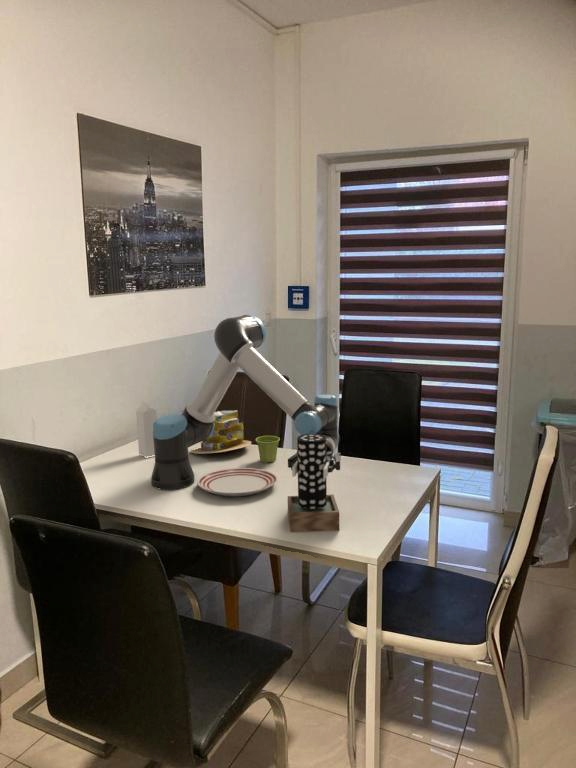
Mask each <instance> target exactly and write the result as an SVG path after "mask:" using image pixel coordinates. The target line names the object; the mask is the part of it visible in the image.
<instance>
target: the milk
mask: <svg viewBox="0 0 576 768" xmlns="http://www.w3.org/2000/svg"><path fill="white" fill-rule="evenodd" d="M141 404H142V405H141V406H140V407H138V408H137V409H136V410H135V412H136V427H137V428H136V429H137V442H138V444H137V445H138V455H139V454H141V455H143V456H146V457H147V456H152V455H155V454H154V439H153V424H154V422H155V420H156V419H158V414H157V413H158V411H157V409H154V408H153V407H151V406H150V405H151V404H150V403H149V402H146V401H142V402H141Z"/></svg>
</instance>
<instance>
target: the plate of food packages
mask: <svg viewBox="0 0 576 768" xmlns="http://www.w3.org/2000/svg"><path fill="white" fill-rule="evenodd" d="M238 413H239V411H238V410H237V409H235V410H225V409H224V410H220V411H219V410H217V411H215V412H214V414H215V421H214V424H215V425H214V430H213V432H212V434H211V435H210V436H209V437H208V438H207V439H206V440H204V441H202V442H200V446H201V448H198V449H195V450H192V449H191V450H190V453H192V454H196V455H197V454H200V455H201V454H203V455H204V454H214V453H215V454H216V453H217V454H218V453H223V455H224V454H225V453H226V452H229V451H234V450H238V449H243V448H245V447H247V446H250V445H252V441H251V440H245V436H244V421H242V422H240V419H239V414H238ZM225 455H226V454H225Z"/></svg>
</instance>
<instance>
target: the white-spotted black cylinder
mask: <svg viewBox="0 0 576 768" xmlns="http://www.w3.org/2000/svg"><path fill="white" fill-rule="evenodd" d="M296 440H297V441H296V446H297V447H296V453H297V459H298V472H297V496H298V504H299V506H301V507H303V508H307V509H317V508H322V507H324V506H326V504H327V495H328V494H327V493H328V492H327V478H324V471H323V469H324V467H325V465H326V437H325V436H323V435H319V434H305V435H301V434H299V435H298V436H297V437H296Z"/></svg>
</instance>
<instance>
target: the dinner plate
mask: <svg viewBox="0 0 576 768" xmlns="http://www.w3.org/2000/svg"><path fill="white" fill-rule="evenodd" d="M278 481H279V479H278V476H277V475H276V474H275V473H273V472H271V471H268V470H266V469H261V468H253V467H233V468H226V469H225V468H224V469H219V470H215V471H210V472H207V473H205V474H203V475H202V476H200V477H198V479H197V481H196V482H197V485H198V487H199V488H200V489H202V490H204V491H206V492H209V493H211V494H212V493H213V494H215V495H219V494H220V495H219V496H223V495H225V497H244V496H250V495H254V494H257V493H260V492H264V491H265V490H267V489H269V488H271V487H273V486H274V485H275V484H276V483H277V482H278Z"/></svg>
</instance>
